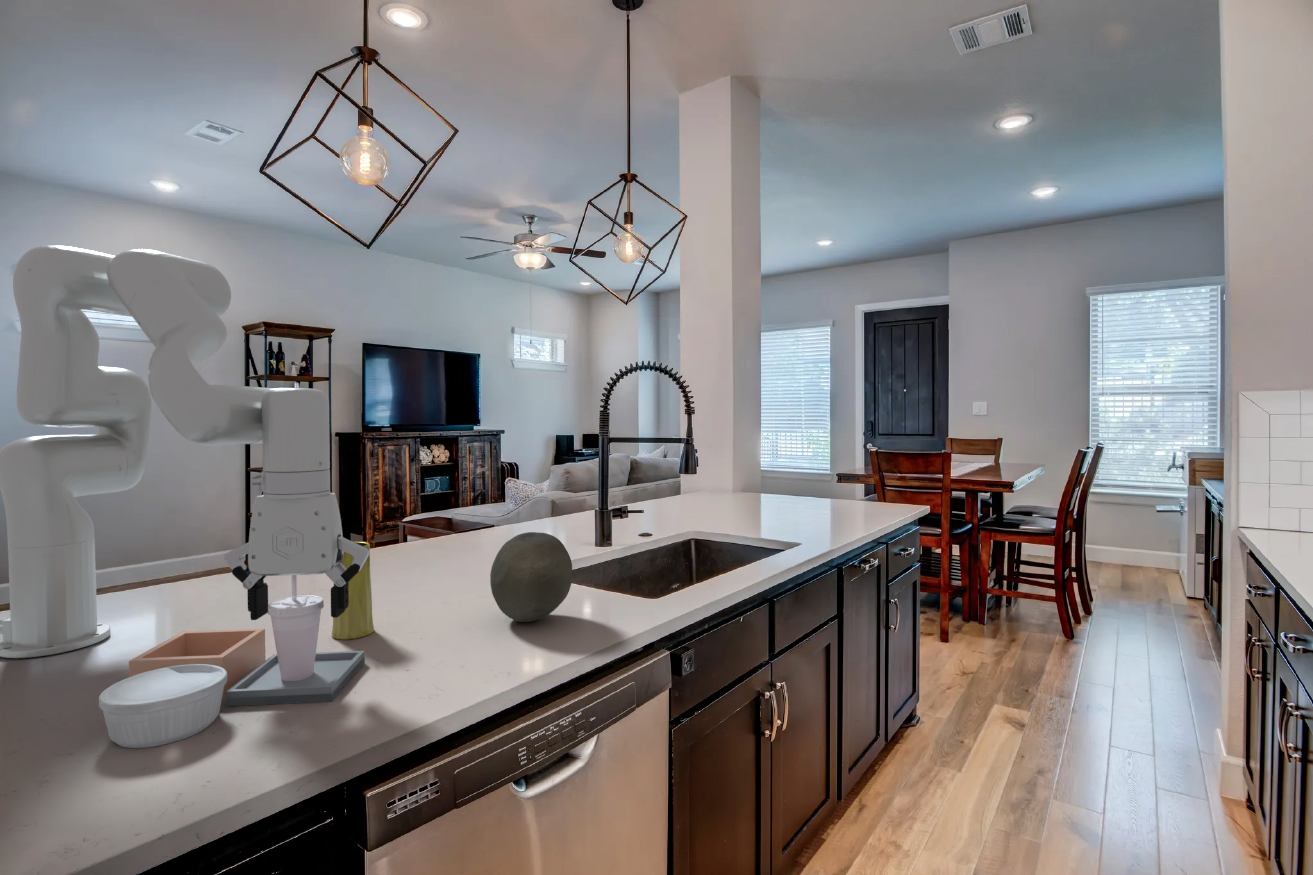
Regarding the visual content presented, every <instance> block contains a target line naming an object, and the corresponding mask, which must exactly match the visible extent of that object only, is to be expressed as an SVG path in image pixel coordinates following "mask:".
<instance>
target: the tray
mask: <svg viewBox="0 0 1313 875" xmlns="http://www.w3.org/2000/svg"><path fill="white" fill-rule="evenodd" d="M365 651H366V650H349V651H348V650H347V651H346V650H345V651H325V652H324V651H321V652H316V656H315V664H314V673H313V675H312V676H310V677H308V678H306V679H302V680H298V681H283V680H281V675H280V669H279V663H278V657H277V653H273V654H272V655H270V656H269V657H268V658H266V661H264V662H263V663H262V664H261V665H259V666H258V667H257V668H255V669H254V670H253V671H252V672H250V673H249V674H248V675H247V676H245V677H244V678H243V679H241V680H240V681H239V682H238V683H236V684H235V685H234V686H232V687H231V688H230V689H229V690H227V691H226V696H225V707H243V706H244V707H245V706H261V705H262V706H265V705H266V706H267V705H280V704H281V705H286V704H287V705H288V704H304V703H305V704H306V703H323V702H324V703H325V702H326V703H329V702H332V701H333V700H334V699H335V698H336V697H337V696H338V695H339V693H341V692H342V690H343V689H344V688H345V687H346V686H347V685H348V683H349V682H350V681H351V680H352V679H353V677H354V676H355V675H356V674H357V673H358V672H359V671H360V669H361V668H362V667H363V666H364V665H365V664H366V661H365V660H366V658H365V657H366V656H365Z"/></svg>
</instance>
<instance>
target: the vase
mask: <svg viewBox="0 0 1313 875" xmlns="http://www.w3.org/2000/svg"><path fill="white" fill-rule="evenodd" d="M353 542H354V543H356V544H358V545H361V546H363V547H365V548H367V549H369V551H370V552H371V547H370V546H371V544H370V543H369V542H367V541H353ZM353 560H354V557H353V556H352V555H351V554H349V553H346V552H344V551H343V560H342V562H341V563H342V565H343V566H344V567H345V568H346V569H348V568H349V567H350V566H351V564H352V562H353ZM348 583H349V604H348V607H347V608H346V609H345V612H343V613H342V614H341V615H340V616H339V617H337V618H333V617H332V631H331V638H334V639H337V640H343V641H344V640H357V639H361V638H365V637H367V636H369V635H370V634H372V633H373V632H374V631H375V630H374V629H375V628H374V620H373V618H374V617H373V597H372V596H373V595H372V579H371V553H370V554H369V556H368V558H367V559H366V561H365V563H364V565H363V567H362V569H361V570H360V571H359V572H358V573H357V574H356V575H355V576H354V577H353V578H352V579H351V580H350V581H349V582H348Z"/></svg>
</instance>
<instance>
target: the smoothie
mask: <svg viewBox="0 0 1313 875" xmlns="http://www.w3.org/2000/svg"><path fill="white" fill-rule="evenodd" d="M297 584H298V583H297V575H291V596H287V597H283V598H280V599H276V600H274V601H272V602H270V603H268V613H267V615H268V616H270V618H271V625H272V632H273V637H274V643H275V650H276V654H277V657H278V663H279V669H280V675H281V680H283V681H298V680H302V679H306V678H308V677H310V676H312V675H313V673H314V664H315V656H316V653H317V646H318V638H319V629H320V622H321V613H322V612H321V611H322V609H323V608H324V607H325V604H324V598H323V597H322V596H319V595H313V594H311V595H310V594H309V595H307V594H306V595H298V591H297V590H298V589H297V588H298V587H297Z"/></svg>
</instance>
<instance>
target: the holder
mask: <svg viewBox="0 0 1313 875" xmlns="http://www.w3.org/2000/svg"><path fill="white" fill-rule="evenodd" d="M266 660H267V658H266V628H251V629H250V628H245V629H244V628H243V629H242V628H241V629H221V630H220V629H215V630H213V629H211V630H187V631H186V630H185V631H181V632H179V633H178V634H176V635H174V636H172V637H171V638H168V639H167V640H165V641H162V642H161V643H159V644H157V645H156V646H154V647H152V648H150V649H148V650H146V651H145V652H143V653H141V654H140V655H137V656H136V657H133V658H132V659H129V661H128V668H129V670H128V671H129V672H128V673H129V674H128V678H129V677H131V676H134V675H137V674H140V673H144V672H147V671H152V670H156V669H160V668H165V667H171V666H179V665H189V664H208V665H215V666H219V667H222V668H223V669H225V670H226V671H227V682H226V684H225V685H224V689H223V695H222V698H225V697H226V691H227V690H229V689H230V688H231V687H232V686H234V685H235V684H236V683H238V682H239V681H240V680H241V679H243V678H244V677H245V676H247V675H248V674H249V673H250V672H252V671H253V670H254V669H255V668H257V667H258V666H259V665H261V664H262V663H263V662H264V661H266Z"/></svg>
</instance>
